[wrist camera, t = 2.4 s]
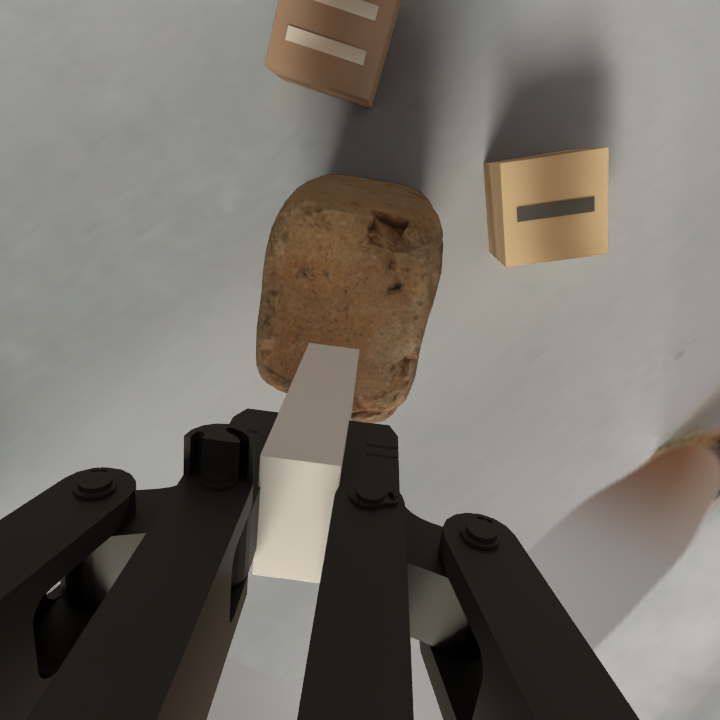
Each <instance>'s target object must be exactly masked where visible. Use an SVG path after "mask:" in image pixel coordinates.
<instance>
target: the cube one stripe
mask: <svg viewBox="0 0 720 720" xmlns="http://www.w3.org/2000/svg"><path fill="white" fill-rule="evenodd" d="M484 177H485V193H486V209H487V224H488V240H489V252H490V253H491V254H492V255H493V256H494V257H495V258H497V259H498V260H499V261H500V262H501V263H502V264H503V265H504V266H505V267H511V266H519V265H527V264H534V263H542V262H549V261H557V260H565V259H572V258H580V257H588V256H595V255H603V254H608V147H606V148H587V149H572V150H566V151H559V152H552V153H545V154H539V155H532V156H525V157H519V158H512V159H505V160H499V161H492V162H485V163H484Z"/></svg>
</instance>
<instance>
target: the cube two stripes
mask: <svg viewBox="0 0 720 720" xmlns="http://www.w3.org/2000/svg"><path fill="white" fill-rule="evenodd" d="M400 5H401V0H279V1H278V6H277V11H276V15H275V20H274V25H273V29H272V34H271V39H270V43H269V48H268V53H267V57H266V62H265V67H267V68H268V69H269V70H271V71H272V72H273V73H275V74H276V75H277V76H279V77H280V78H281V79H283V80H285V81H288V82H291V83H294V84H297V85H300V86H303V87H306V88H309V89H312V90H315V91H318V92H321V93H324V94H327V95H330V96H333V97H336V98H340V99H343V100H346V101H349V102H352V103H355V104H358V105H361V106H364V107H367V108H370V109H372V106H373V102H374V99H375V95H376V92H377V88H378V85H379V81H380V78H381V74H382V71H383V67H384V63H385V60H386V56H387V53H388V49H389V46H390V42H391V39H392V35H393V32H394V28H395V25H396V21H397V17H398V14H399V10H400Z"/></svg>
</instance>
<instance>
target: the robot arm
mask: <svg viewBox="0 0 720 720" xmlns="http://www.w3.org/2000/svg"><path fill="white" fill-rule="evenodd" d="M358 357H359V349H353V348H345V347H337V346H330V345H322V344H314V343H309V344H308V346H307V349H306V351H305V353H304V356H303V358H302V360H301V363H300V365H299V367H298V369H297V372H296V374H295V376H294V379H293V381H292V383H291V386H290V388H289V390H288V392H287V395H286V397H285V399H284V402H283V404H282V406H281V409H280V411H279V413H278V412H270V411H262V410H255V409H246V410H244V411H243V412H241V413H239V414H237V415H236V416H234V417H233V419H232V420H231V422H230V424H210V425H204V426H200V427H198V428H195V429H192V430H191V431H189V432H188V433H187V434H186V435H185V436H184V475H183V477H182V478H181V480H180V481H179V483H178V484H177V486H173V487H169V488H161V489H149V490H136V481H135V479H134V478H133V477H132V475H131V474H129V473H127V472H125V471H123V470H120V469H114V468H103V467H101V468H91V469H88V470H84V471H80V472H76V473H74V474H72V475H70V476H68V477H66V478H64V479H63V480H61V481H59V482H58V483H56V484H55V485H53V486H52V487H50V488H49V489H47V490H46V491H44V492H42V493H41V494H39V495H38V496H36V497H35V498H33V499H32V500H30V501H29V502H27V503H26V504H24V505H22V506H21V507H19V508H18V509H16V510H15V511H13V512H12V513H10V514H9V515H7V516H5V517H4V518H2V519H1V520H0V720H206V719H207V716H208V713H209V710H210V707H211V704H212V700H213V697H214V694H215V691H216V688H217V685H218V682H219V679H220V676H221V673H222V669H223V666H224V663H225V660H226V657H227V654H228V651H229V648H230V645H231V642H232V638H233V635H234V632H235V629H236V626H237V623H238V620H239V617H240V614H241V611H242V607H243V604H244V601H245V598H246V595H247V582H248V572H249V569H250V566H251V563H252V560H253V575H261V576H268V577H276V578H283V579H291V580H299V581H306V582H314V583H320V586H319V592H318V598H317V604H316V610H315V616H314V622H313V628H312V634H311V640H310V646H309V652H308V658H307V664H306V670H305V676H304V682H303V688H302V694H301V700H300V706H299V712H298V718H297V720H414V718H413V694H412V670H411V644H410V637H412V638H415V639H417V640H419V641H420V650H421V654H422V657H423V660H424V663H425V666H426V669H427V672H428V675H429V678H430V681H431V684H432V687H433V690H434V693H435V696H436V699H437V702H438V704H439V708H440V711H441V713H442V716H443V719H444V720H639V718H638V717H637V715H636V714H635V712H634V711H633V709H632V708H631V706H630V705H629V703H628V702H627V700H626V699H625V698H624V696H623V695H622V693H621V692H620V690H619V689H618V687H617V686H616V684H615V683H614V681H613V680H612V678H611V677H610V675H609V674H608V672H607V671H606V669H605V668H604V666H603V665H602V663H601V662H600V660H599V659H598V658H597V656H596V655H595V653H594V652H593V650H592V649H591V647H590V646H589V644H588V643H587V641H586V640H585V638H584V637H583V635H582V634H581V632H580V631H579V629H578V628H577V627H576V625H575V623H574V622H573V621H572V619H571V618H570V616H569V615H568V613H567V612H566V610H565V609H564V607H563V606H562V604H561V603H560V601H559V600H558V598H557V597H556V595H555V594H554V592H553V591H552V589H551V588H550V586H549V585H548V584H547V582H546V581H545V579H544V578H543V576H542V575H541V573H540V572H539V570H538V569H537V567H536V566H535V564H534V563H533V561H532V560H531V558H530V557H529V556H528V554H527V552H526V551H525V549H524V548H523V546H522V545H521V544H520V542H519V541H518V539H517V538H516V536H515V535H514V534H513V533H512V532H511V531H510V530H509V529H508V528H507V526H505V525H503V524H502V523H500V522H498V521H497V520H495V519H493V518H490V517H488V516H485V515H481V514H473V513H463V514H456V515H454V516H452V517H450V518H449V519H447V520H446V522H445V524H444V526H443V527H441V526H439V525H436V524H433V523H430V522H428V521H425V520H423V519H421V518H419V517H417V516H416V515H414V514H413V513H411V512H410V511H409V510H408V509H407V508H406V507H405V503H404V500H403V497H402V495H401V494H400V491H399V460H398V436H397V435H396V434H395V432H394V431H393V430H392V429H391V427H390V426H389V425H382V424H374V423H366V422H359V421H351V413H352V405H353V397H354V389H355V381H356V373H357V365H358ZM253 557H254V559H253ZM59 581H60V582H61V584H60V585H59V586H58V587H56V588H55V589H54V590H53V591H52V592H50V593H48V594H46V593H47V592H48V591H49V590H50V589H51V588H52V587H53V586H54V585H55V584H56V583H58V582H59Z"/></svg>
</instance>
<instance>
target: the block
mask: <svg viewBox="0 0 720 720" xmlns="http://www.w3.org/2000/svg"><path fill="white" fill-rule="evenodd" d="M442 238H443V232H442V227H441V223H440V219H439V217H438V214H437V213H436V212H435V210H434V209H433V207H432V205H431V203H430V202H429V200H428V199H427V197H426V196H424V195H423V194H422V193H421V192H419V191H418V190H416V189H414V188H412V187H409V186H406V185H402V184H397V183H392V182H386V181H380V180H374V179H368V178H362V177H356V176H348V175H337V174H331V175H325V176H320V177H318V178H315V179H313V180H310V181H307V182H306V183H304V184H303V185H301V186H300V187H298V188H297V189H296V190H295V191H294V192H293V194H292V195H291V196H290V197H289V198H288V199H287V200H286V201H285V203H284V205H283V206H282V208H281V209H280V211H279V213H278V216H277V218H276V220H275V222H274V224H273V226H272V229H271V233H270V237H269V241H268V245H267V249H266V255H265V261H264V268H263V280H262V293H261V301H260V308H259V316H258V323H257V341H256V363H257V368H258V370H259V373H260V375H261V377H262V379H263V380H264V381H265V382H267V383H268V384H270V385H271V386H273V387H274V388H276V389H278V390H280V391H282V392H285V393H287V392H288V390H289V388H290V386H291V383H292V381H293V379H294V376H295V374H296V372H297V369H298V367H299V365H300V363H301V360H302V358H303V356H304V353H305V351H306V349H307V346H308V344H309V343H314V344H322V345H330V346H337V347H345V348H353V349H359V357H358V365H357V373H356V381H355V389H354V397H353V405H352V413H351V419H352V420H353V421H359V422H366V423H376V422H381V421H384V420H385V419H387V418H388V417H389V416H391V415H392V414H393V413H394V412H395V410H396V409H397V407H398V406H399V405H401V404H402V403H403V402H404V401H405V400H406V398H407V396H408V393H409V391H410V389H411V386H412V384H413V381H414V378H415V374H416V369H417V364H418V358H419V351H420V347H421V343H422V339H423V335H424V332H425V328H426V324H427V321H428V317H429V314H430V311H431V308H432V305H433V302H434V298H435V295H436V291H437V287H438V283H439V279H440V275H441V268H442V254H443V241H442Z"/></svg>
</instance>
